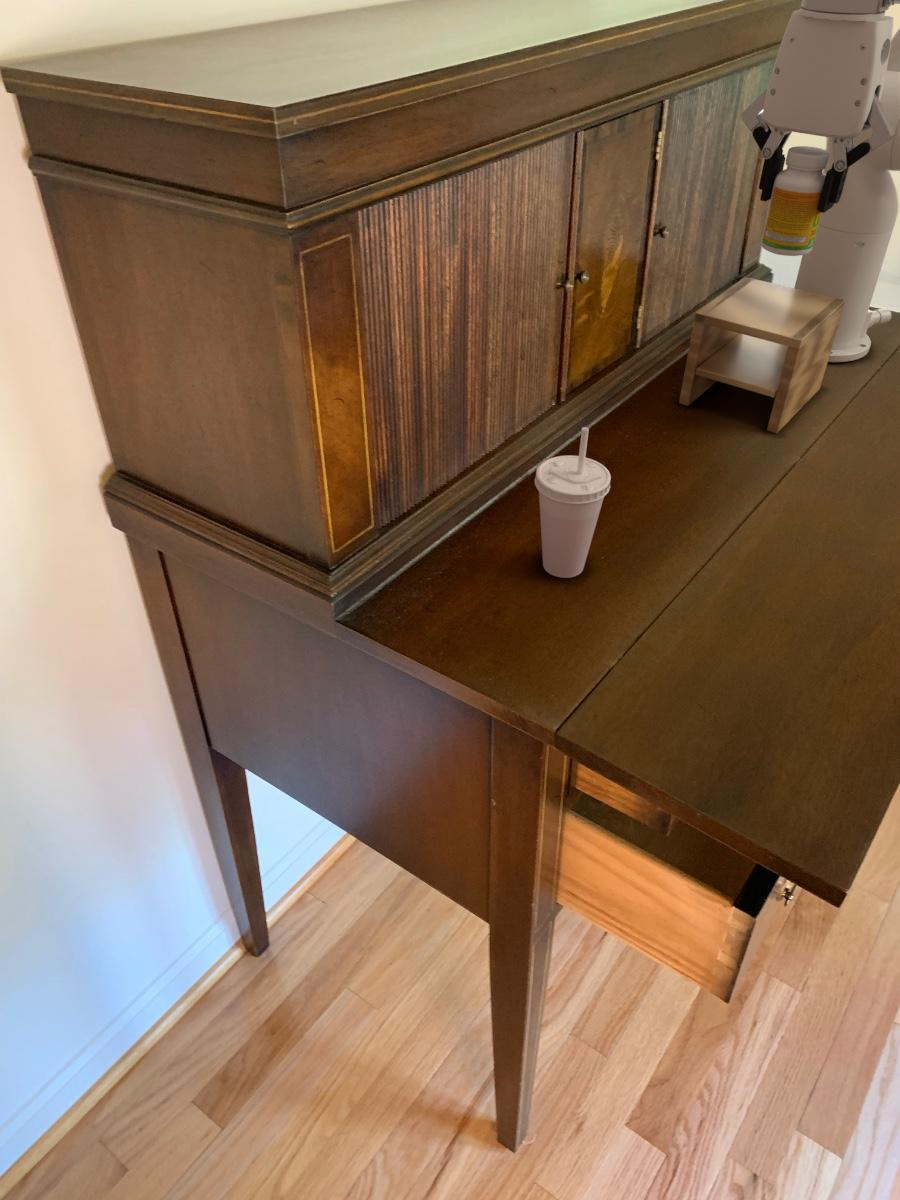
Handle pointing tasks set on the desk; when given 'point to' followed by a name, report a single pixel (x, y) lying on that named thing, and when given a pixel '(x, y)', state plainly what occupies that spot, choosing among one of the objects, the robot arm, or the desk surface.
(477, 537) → the desk surface
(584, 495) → the smoothie
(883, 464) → the desk surface
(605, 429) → the desk surface
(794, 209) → the supplement bottle
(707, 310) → the shelf stand
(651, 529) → the desk surface
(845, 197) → the robot arm
